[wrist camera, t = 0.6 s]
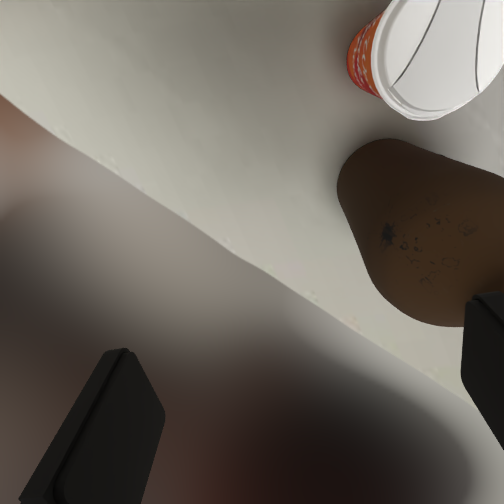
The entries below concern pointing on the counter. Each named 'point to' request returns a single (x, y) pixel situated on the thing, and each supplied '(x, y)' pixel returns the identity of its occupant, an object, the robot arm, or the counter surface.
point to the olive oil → (425, 228)
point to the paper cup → (429, 54)
